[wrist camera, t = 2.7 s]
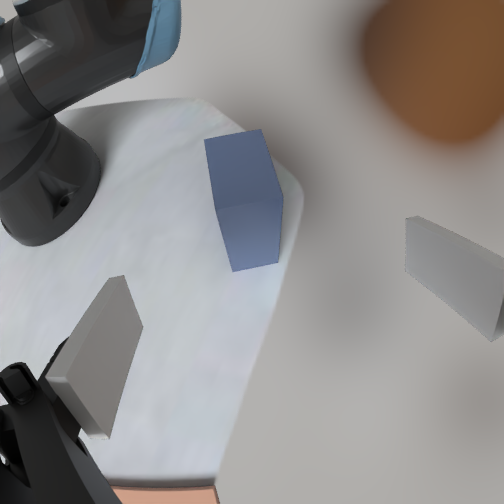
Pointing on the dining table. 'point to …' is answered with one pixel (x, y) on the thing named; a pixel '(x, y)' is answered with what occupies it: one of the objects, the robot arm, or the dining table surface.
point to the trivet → (167, 495)
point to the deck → (246, 198)
